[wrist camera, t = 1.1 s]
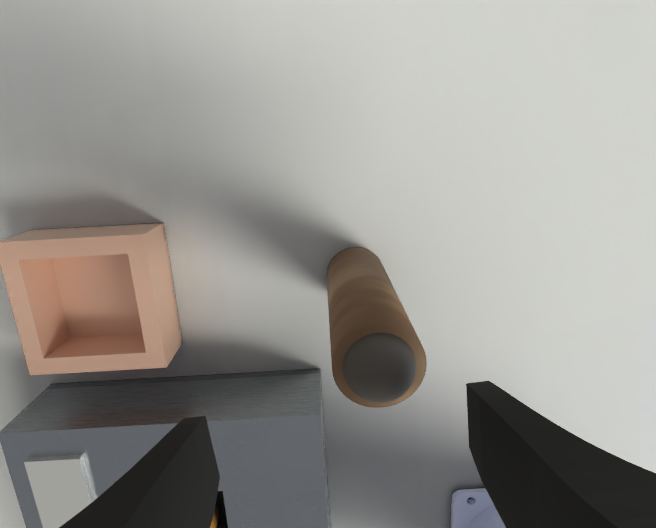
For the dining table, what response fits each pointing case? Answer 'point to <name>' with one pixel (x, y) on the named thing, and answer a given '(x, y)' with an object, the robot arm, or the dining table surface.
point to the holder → (92, 298)
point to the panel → (155, 422)
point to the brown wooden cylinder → (370, 333)
